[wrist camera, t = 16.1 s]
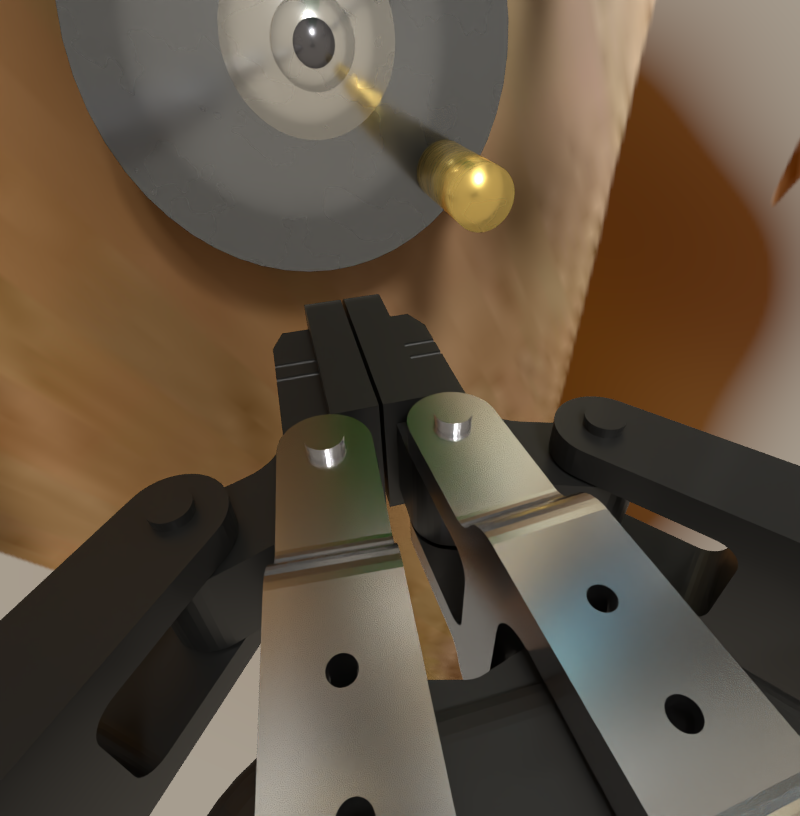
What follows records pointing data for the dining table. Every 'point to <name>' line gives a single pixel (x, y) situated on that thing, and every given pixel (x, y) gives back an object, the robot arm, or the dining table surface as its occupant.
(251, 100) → the cover
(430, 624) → the dining table surface
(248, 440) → the dining table surface
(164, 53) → the turntable
